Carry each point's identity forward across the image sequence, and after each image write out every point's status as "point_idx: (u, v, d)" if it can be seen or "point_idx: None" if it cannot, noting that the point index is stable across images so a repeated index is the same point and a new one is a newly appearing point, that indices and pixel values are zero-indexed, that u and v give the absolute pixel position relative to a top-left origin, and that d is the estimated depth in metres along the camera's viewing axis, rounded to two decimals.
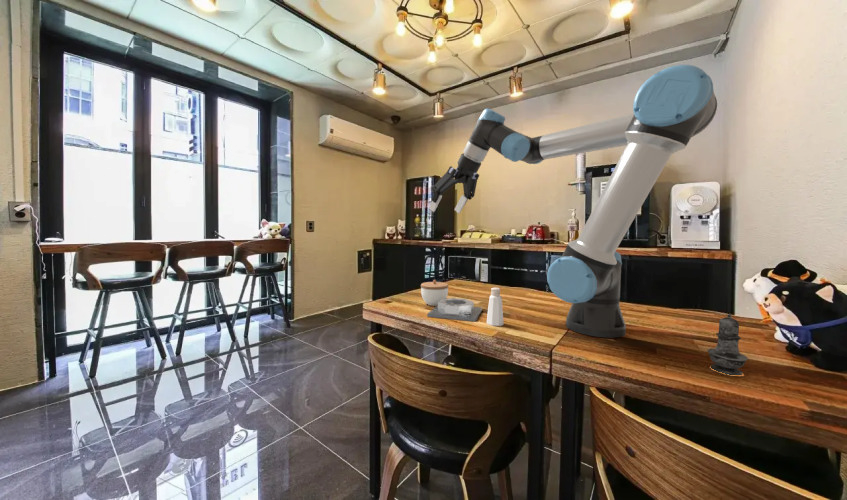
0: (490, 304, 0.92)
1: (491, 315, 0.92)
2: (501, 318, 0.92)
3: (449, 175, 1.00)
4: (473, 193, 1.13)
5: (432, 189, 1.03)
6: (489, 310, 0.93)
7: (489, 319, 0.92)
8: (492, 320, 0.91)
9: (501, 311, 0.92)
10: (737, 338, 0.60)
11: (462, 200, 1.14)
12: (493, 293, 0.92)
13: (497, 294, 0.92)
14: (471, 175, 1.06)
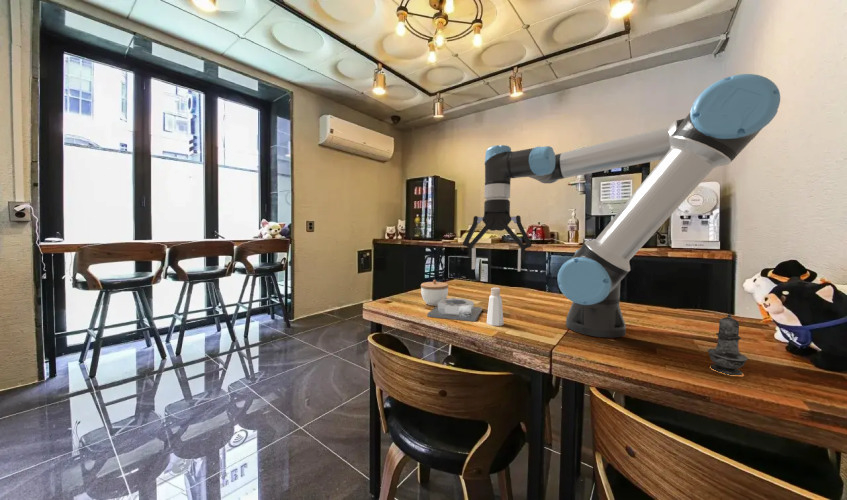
0: (490, 304, 0.92)
1: (491, 315, 0.92)
2: (501, 318, 0.92)
3: (472, 224, 0.93)
4: (527, 241, 0.88)
5: None
6: (489, 310, 0.93)
7: (489, 319, 0.92)
8: (492, 320, 0.91)
9: (501, 311, 0.92)
10: (737, 338, 0.60)
11: None
12: (493, 293, 0.92)
13: (497, 294, 0.92)
14: (506, 218, 0.90)
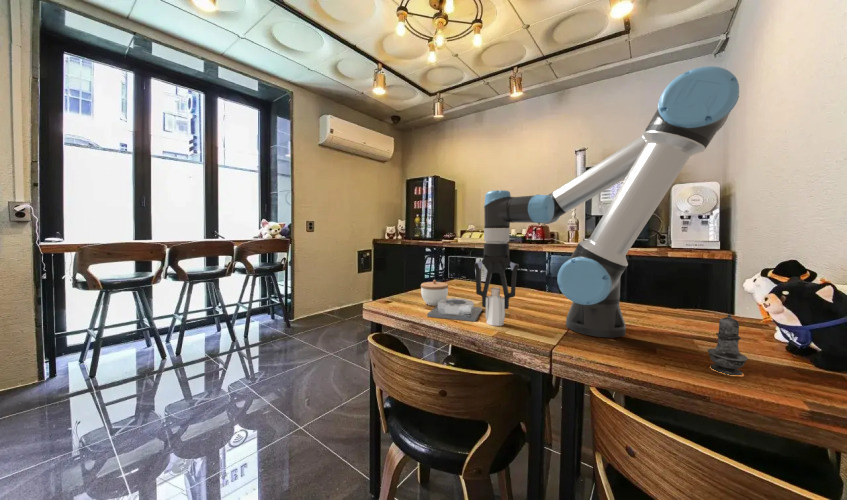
0: (490, 304, 0.92)
1: (491, 315, 0.92)
2: (501, 318, 0.92)
3: (476, 271, 0.94)
4: (512, 291, 0.90)
5: None
6: (489, 310, 0.93)
7: (489, 319, 0.92)
8: (492, 320, 0.91)
9: (501, 311, 0.92)
10: (737, 338, 0.60)
11: None
12: (493, 293, 0.92)
13: (497, 294, 0.92)
14: (505, 261, 0.91)
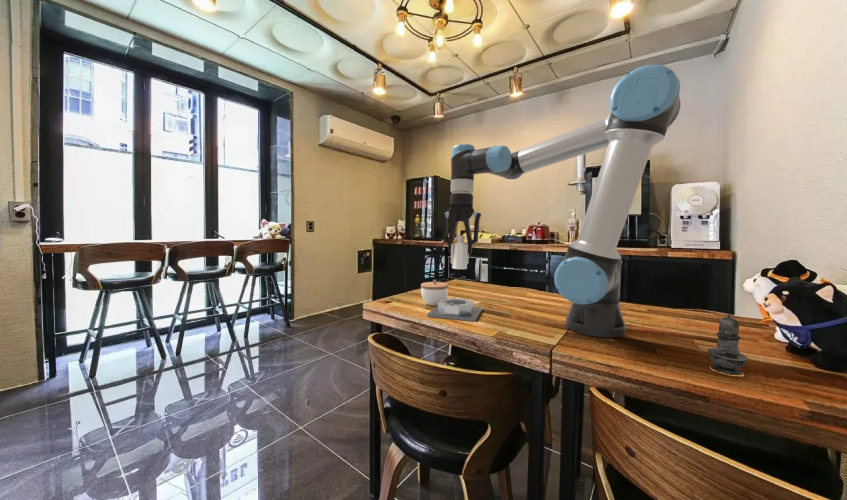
0: (455, 250, 1.01)
1: (455, 259, 1.01)
2: (464, 262, 1.01)
3: None
4: (475, 237, 0.99)
5: None
6: (454, 255, 1.01)
7: (454, 263, 1.01)
8: (456, 264, 1.00)
9: None
10: (737, 338, 0.60)
11: None
12: (458, 240, 1.01)
13: (461, 240, 1.01)
14: (469, 210, 0.99)
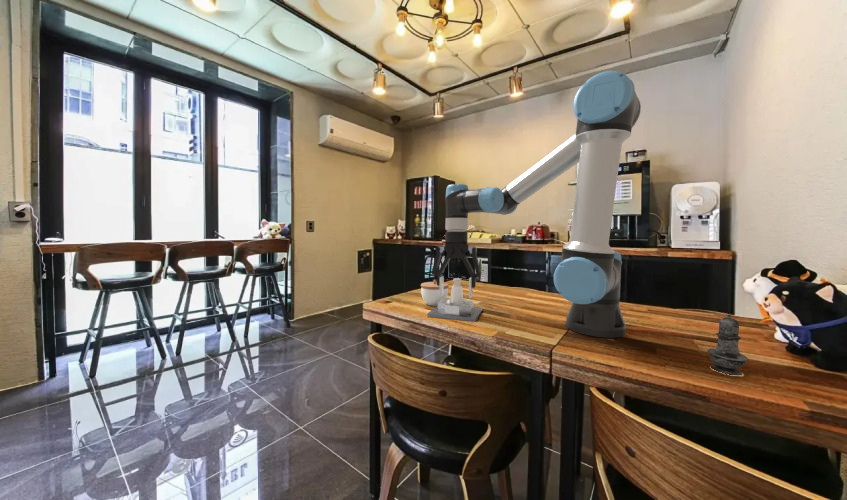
0: (451, 293, 1.03)
1: (451, 302, 1.03)
2: None
3: None
4: (477, 271, 1.00)
5: None
6: (450, 298, 1.04)
7: None
8: None
9: (461, 299, 1.03)
10: (737, 338, 0.60)
11: None
12: (454, 283, 1.03)
13: (458, 284, 1.03)
14: (463, 247, 1.01)
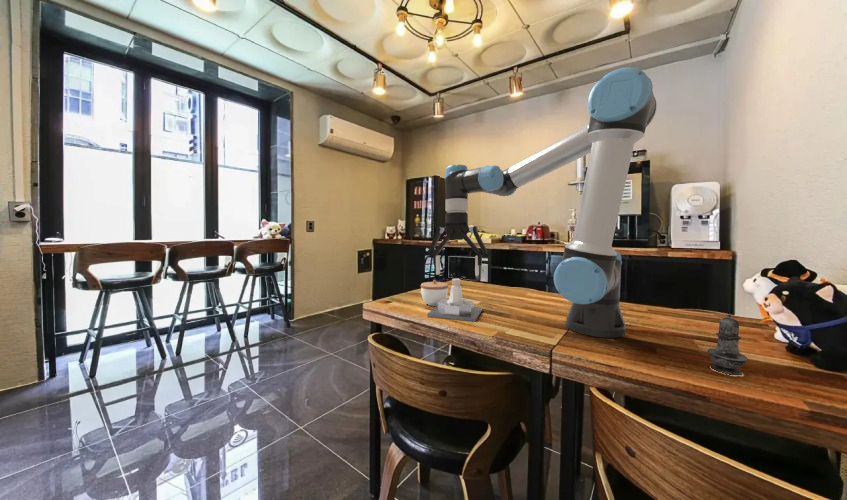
0: (451, 293, 1.04)
1: (451, 302, 1.03)
2: None
3: None
4: (482, 248, 0.99)
5: None
6: (450, 298, 1.04)
7: None
8: None
9: (460, 299, 1.03)
10: (737, 338, 0.60)
11: None
12: (453, 283, 1.03)
13: (457, 284, 1.03)
14: (464, 229, 1.01)
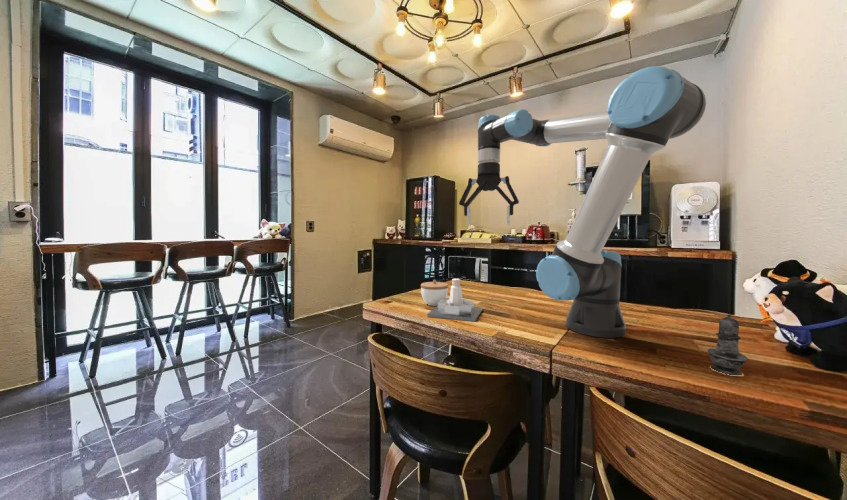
0: (451, 293, 1.03)
1: (451, 302, 1.03)
2: None
3: None
4: (515, 198, 1.02)
5: None
6: (450, 298, 1.04)
7: None
8: None
9: (460, 299, 1.03)
10: (737, 338, 0.60)
11: (507, 210, 1.04)
12: (453, 283, 1.03)
13: (457, 284, 1.03)
14: (496, 179, 1.03)
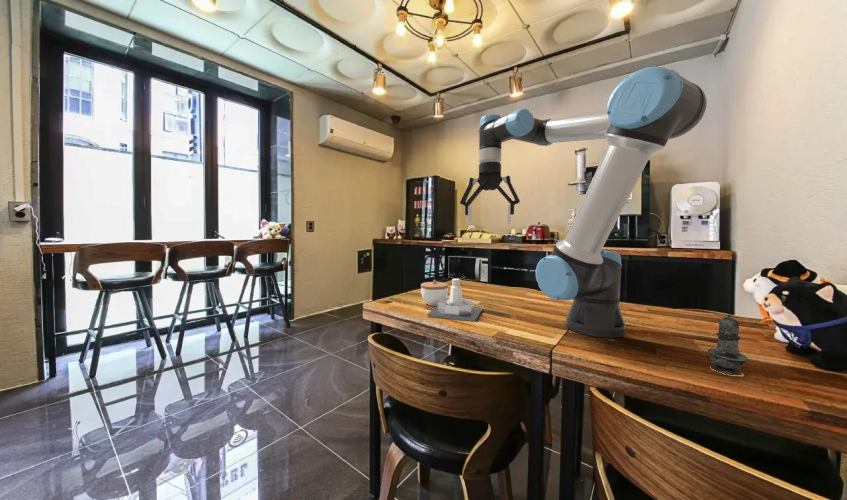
0: (451, 293, 1.03)
1: (451, 302, 1.03)
2: None
3: None
4: (515, 197, 1.02)
5: None
6: (450, 298, 1.04)
7: None
8: None
9: (460, 299, 1.03)
10: (737, 338, 0.60)
11: (508, 209, 1.04)
12: (453, 283, 1.03)
13: (457, 284, 1.03)
14: (497, 178, 1.03)
